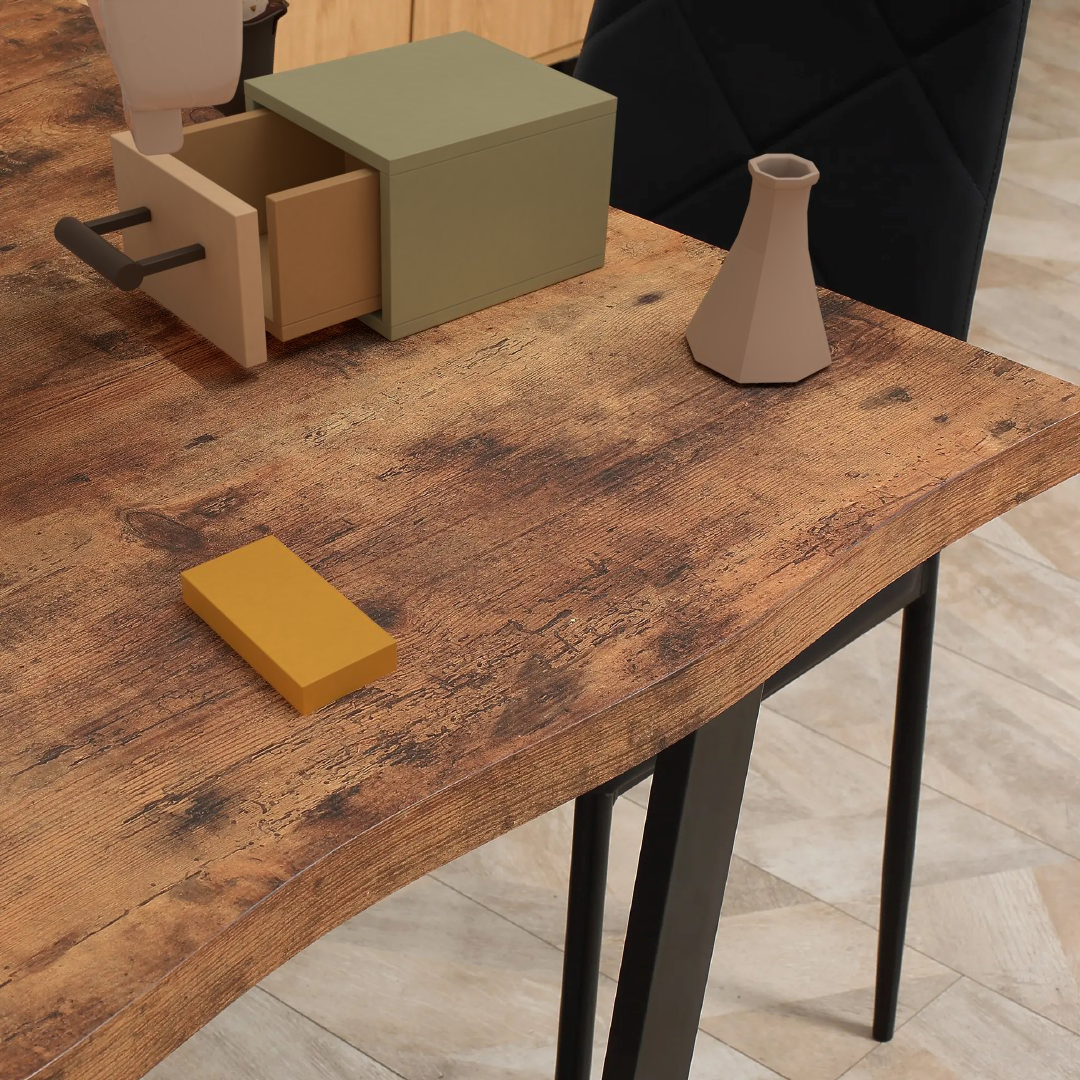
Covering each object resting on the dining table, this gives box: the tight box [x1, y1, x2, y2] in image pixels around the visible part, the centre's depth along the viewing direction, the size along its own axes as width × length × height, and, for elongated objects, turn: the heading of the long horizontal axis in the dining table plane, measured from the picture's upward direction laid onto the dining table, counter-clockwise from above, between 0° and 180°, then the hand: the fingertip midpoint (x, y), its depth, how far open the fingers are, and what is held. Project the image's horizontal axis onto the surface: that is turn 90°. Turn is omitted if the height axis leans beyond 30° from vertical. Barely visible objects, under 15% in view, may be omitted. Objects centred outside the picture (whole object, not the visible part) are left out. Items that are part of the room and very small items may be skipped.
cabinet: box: [244, 29, 618, 342], centre depth 82 cm, size 15×13×10 cm
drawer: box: [53, 107, 382, 369], centre depth 76 cm, size 18×11×8 cm, turn 131°
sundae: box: [211, 0, 290, 118], centre depth 89 cm, size 7×7×15 cm
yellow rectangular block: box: [180, 534, 398, 717], centre depth 56 cm, size 8×4×3 cm, turn 41°
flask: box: [683, 153, 833, 384], centre depth 75 cm, size 7×7×10 cm
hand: (155, 140), depth 59 cm, fingers closed
